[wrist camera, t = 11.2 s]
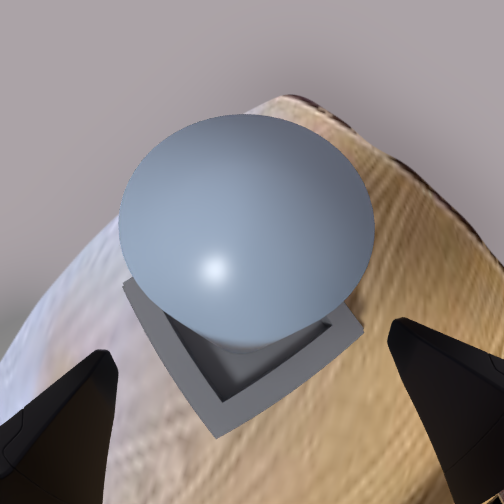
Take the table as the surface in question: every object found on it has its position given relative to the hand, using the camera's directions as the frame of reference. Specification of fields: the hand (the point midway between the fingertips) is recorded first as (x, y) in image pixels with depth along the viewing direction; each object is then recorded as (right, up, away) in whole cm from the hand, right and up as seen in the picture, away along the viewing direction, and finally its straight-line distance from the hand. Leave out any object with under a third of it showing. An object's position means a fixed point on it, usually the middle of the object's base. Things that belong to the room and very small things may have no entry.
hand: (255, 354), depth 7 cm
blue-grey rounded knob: (-1, -1, +10) cm, 10 cm away
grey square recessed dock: (-1, -1, +10) cm, 10 cm away
